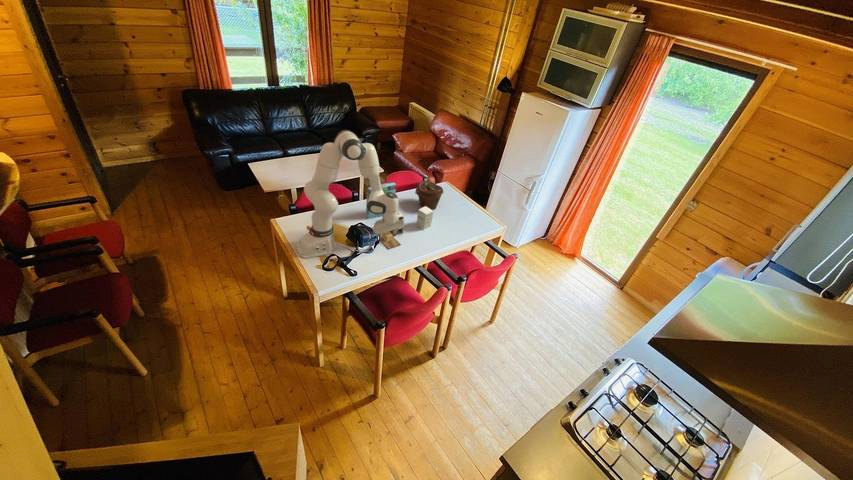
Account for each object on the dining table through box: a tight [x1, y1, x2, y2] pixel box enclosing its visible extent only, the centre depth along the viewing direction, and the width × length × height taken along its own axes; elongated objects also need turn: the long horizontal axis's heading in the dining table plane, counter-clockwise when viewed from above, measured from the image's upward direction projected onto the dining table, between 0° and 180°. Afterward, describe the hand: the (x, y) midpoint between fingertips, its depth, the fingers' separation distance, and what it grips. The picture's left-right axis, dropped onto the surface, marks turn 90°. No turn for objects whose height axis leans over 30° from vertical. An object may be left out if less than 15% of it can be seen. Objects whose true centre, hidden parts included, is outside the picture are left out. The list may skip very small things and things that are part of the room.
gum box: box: [365, 181, 397, 220], centre depth 244 cm, size 20×5×23 cm, turn 123°
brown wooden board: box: [378, 234, 402, 250], centre depth 230 cm, size 9×16×1 cm, turn 36°
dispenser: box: [389, 226, 404, 237], centre depth 236 cm, size 12×7×10 cm, turn 36°
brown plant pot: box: [414, 180, 444, 211], centre depth 262 cm, size 18×20×18 cm
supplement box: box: [415, 206, 434, 230], centre depth 244 cm, size 7×7×13 cm
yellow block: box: [382, 231, 393, 242], centre depth 231 cm, size 12×4×4 cm, turn 36°
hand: (388, 235), depth 228 cm, fingers open, 8 cm apart
